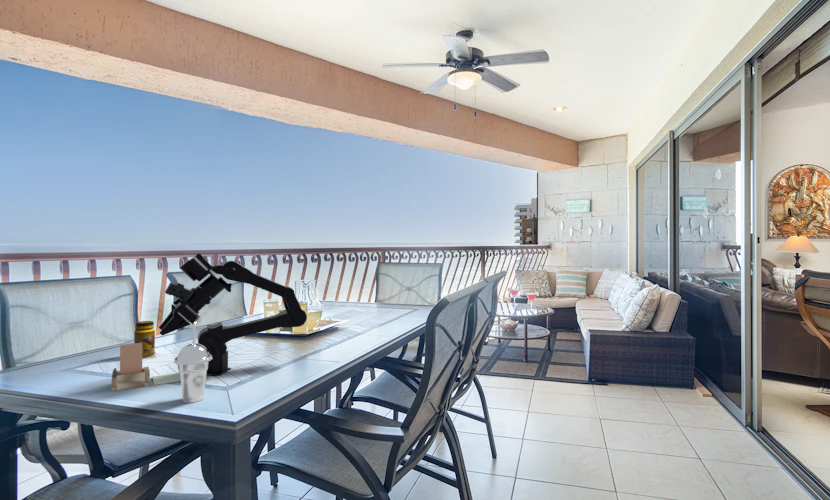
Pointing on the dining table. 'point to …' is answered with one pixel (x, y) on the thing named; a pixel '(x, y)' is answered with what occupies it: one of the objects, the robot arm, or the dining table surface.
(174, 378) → the pad
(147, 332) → the condiment
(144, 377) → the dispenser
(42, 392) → the dining table surface
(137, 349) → the pinkish tan rectangular block
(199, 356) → the cup with straw
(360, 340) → the dining table surface
